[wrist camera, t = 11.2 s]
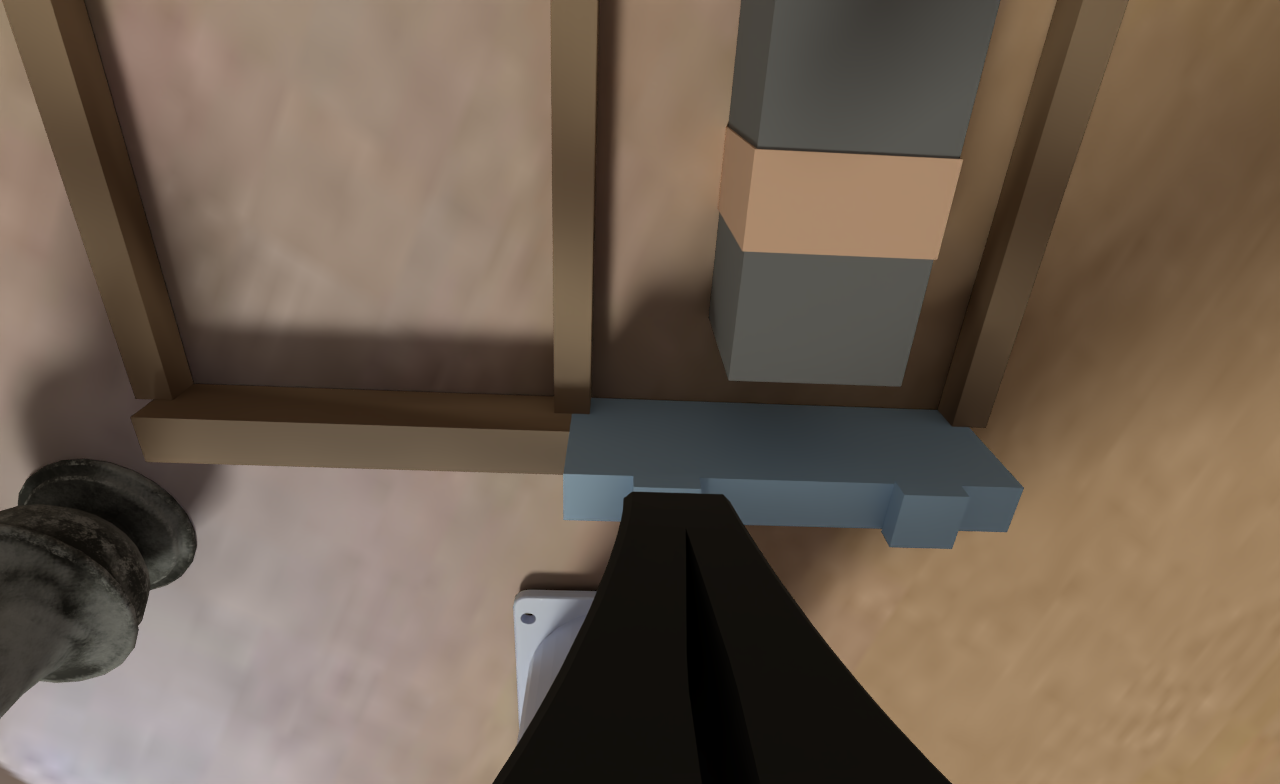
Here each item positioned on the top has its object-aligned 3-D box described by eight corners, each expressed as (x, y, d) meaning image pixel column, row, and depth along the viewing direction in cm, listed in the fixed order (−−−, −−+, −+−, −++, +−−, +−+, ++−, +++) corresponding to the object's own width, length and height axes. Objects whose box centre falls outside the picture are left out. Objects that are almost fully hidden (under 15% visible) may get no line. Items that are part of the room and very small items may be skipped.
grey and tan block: (850, 321, 19) (903, 387, 15) (706, 316, 19) (726, 381, 15) (917, -5, 15) (1009, -21, 12) (740, -15, 15) (777, -35, 11)
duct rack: (956, 452, 21) (1036, 551, 17) (172, 427, 20) (55, 525, 16) (1113, -41, 15) (1296, -74, 11) (2, -113, 14) (-255, -180, 10)
